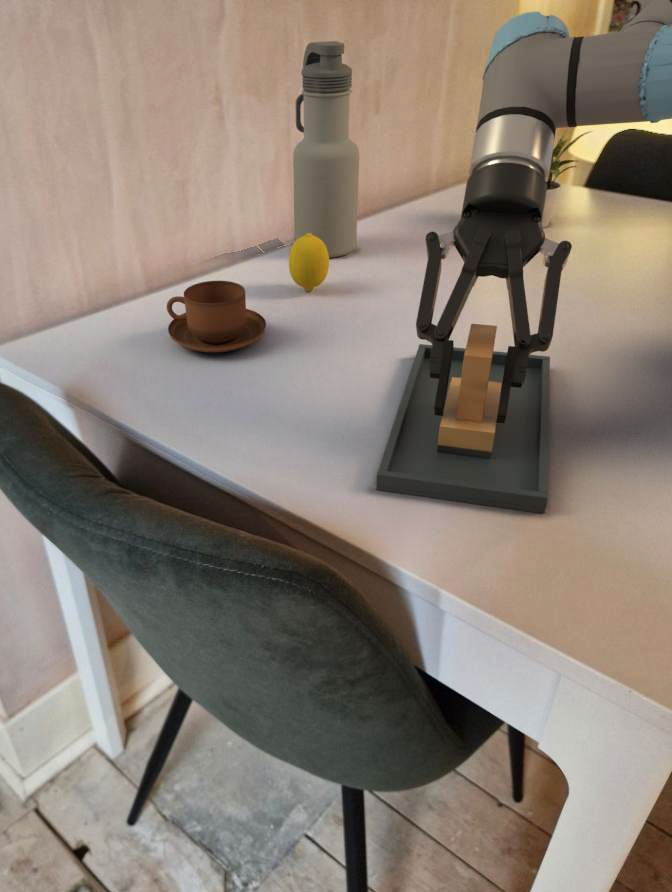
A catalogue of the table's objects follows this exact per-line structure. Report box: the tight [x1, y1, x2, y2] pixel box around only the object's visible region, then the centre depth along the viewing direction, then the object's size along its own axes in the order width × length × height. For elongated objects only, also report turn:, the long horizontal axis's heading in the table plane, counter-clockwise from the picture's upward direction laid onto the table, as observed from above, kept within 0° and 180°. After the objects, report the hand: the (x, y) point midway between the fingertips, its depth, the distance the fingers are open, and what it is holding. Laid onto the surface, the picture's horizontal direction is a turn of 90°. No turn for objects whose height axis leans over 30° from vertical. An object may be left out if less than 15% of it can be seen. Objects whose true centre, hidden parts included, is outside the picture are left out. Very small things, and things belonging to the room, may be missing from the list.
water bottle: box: [292, 40, 360, 259], centre depth 112 cm, size 10×10×28 cm
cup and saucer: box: [166, 280, 267, 353], centre depth 93 cm, size 12×12×6 cm
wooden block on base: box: [437, 323, 502, 459], centre depth 73 cm, size 10×5×10 cm, turn 164°
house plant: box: [542, 128, 593, 228], centre depth 124 cm, size 14×14×16 cm
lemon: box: [288, 233, 330, 292], centre depth 104 cm, size 6×6×8 cm
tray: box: [375, 343, 551, 514], centre depth 77 cm, size 28×15×2 cm, turn 164°
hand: (469, 414), depth 70 cm, fingers closed on wooden block on base, 5 cm apart
